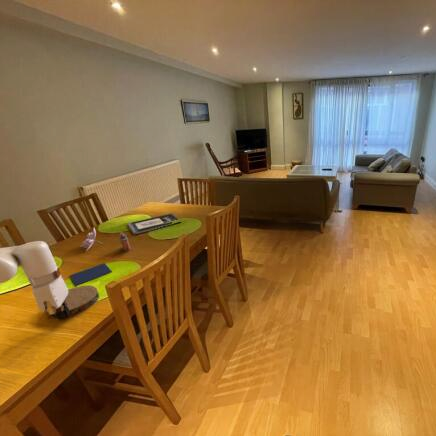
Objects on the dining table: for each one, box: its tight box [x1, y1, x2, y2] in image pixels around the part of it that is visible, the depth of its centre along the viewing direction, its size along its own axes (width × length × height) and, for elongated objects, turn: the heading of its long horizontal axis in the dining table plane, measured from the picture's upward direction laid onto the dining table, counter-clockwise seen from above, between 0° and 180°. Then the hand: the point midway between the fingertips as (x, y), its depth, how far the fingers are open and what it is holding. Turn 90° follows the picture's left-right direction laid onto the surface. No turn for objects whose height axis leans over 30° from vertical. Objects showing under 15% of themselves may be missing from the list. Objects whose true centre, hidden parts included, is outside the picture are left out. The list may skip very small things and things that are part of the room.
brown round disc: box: [45, 285, 100, 320], centre depth 96 cm, size 16×16×3 cm
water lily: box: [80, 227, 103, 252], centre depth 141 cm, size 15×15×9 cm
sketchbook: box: [126, 213, 179, 235], centre depth 171 cm, size 22×30×2 cm
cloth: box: [69, 262, 113, 287], centre depth 116 cm, size 14×12×1 cm
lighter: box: [119, 231, 132, 253], centre depth 137 cm, size 8×3×10 cm, turn 45°
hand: (64, 317), depth 89 cm, fingers closed
